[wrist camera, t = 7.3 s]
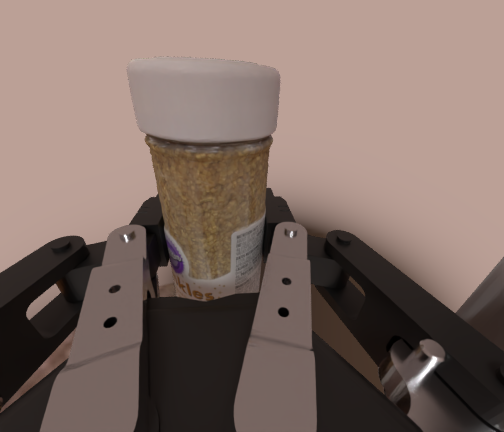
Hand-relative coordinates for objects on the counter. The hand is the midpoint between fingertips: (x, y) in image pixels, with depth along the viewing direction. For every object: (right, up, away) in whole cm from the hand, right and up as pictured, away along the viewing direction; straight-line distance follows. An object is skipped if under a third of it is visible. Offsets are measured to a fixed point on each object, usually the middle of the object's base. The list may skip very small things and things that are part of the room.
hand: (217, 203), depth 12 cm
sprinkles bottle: (0, -8, +2) cm, 8 cm away
